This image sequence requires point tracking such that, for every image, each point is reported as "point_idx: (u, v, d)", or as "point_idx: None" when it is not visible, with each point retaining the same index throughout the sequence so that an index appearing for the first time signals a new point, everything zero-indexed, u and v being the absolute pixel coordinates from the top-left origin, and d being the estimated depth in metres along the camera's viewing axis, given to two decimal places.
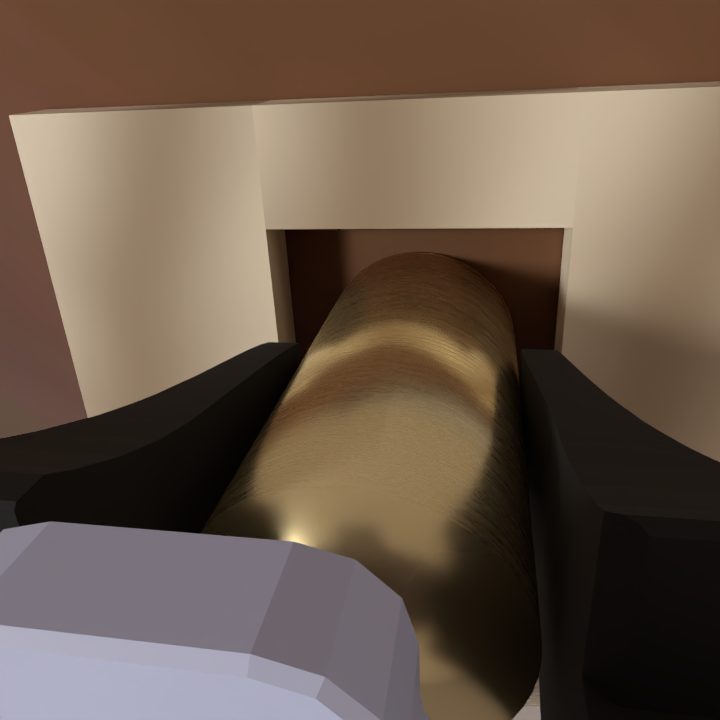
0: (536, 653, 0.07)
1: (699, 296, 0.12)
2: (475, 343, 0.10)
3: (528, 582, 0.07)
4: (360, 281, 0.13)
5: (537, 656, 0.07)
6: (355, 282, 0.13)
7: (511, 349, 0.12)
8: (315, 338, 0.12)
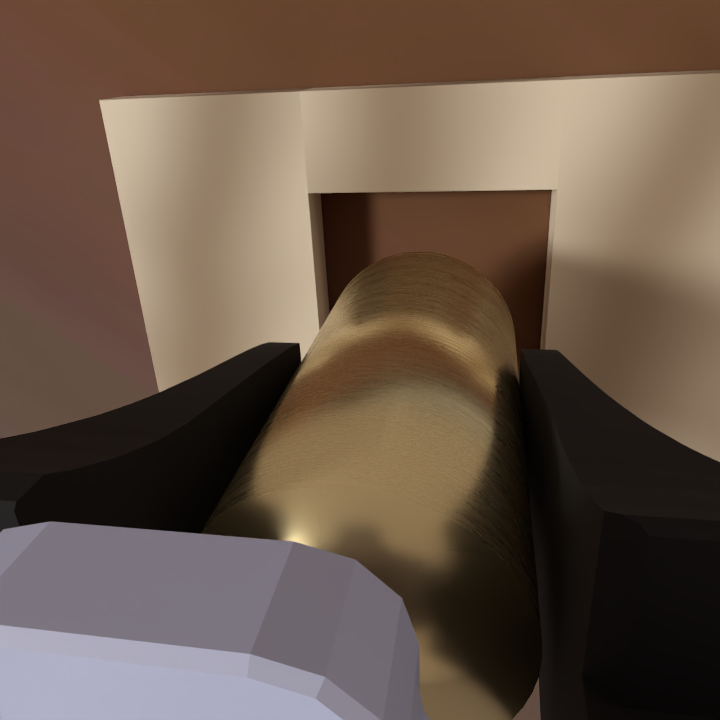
0: (536, 652, 0.07)
1: (659, 245, 0.14)
2: (476, 343, 0.10)
3: (528, 581, 0.07)
4: (360, 281, 0.13)
5: (537, 655, 0.07)
6: (355, 282, 0.13)
7: (511, 349, 0.12)
8: (315, 338, 0.12)
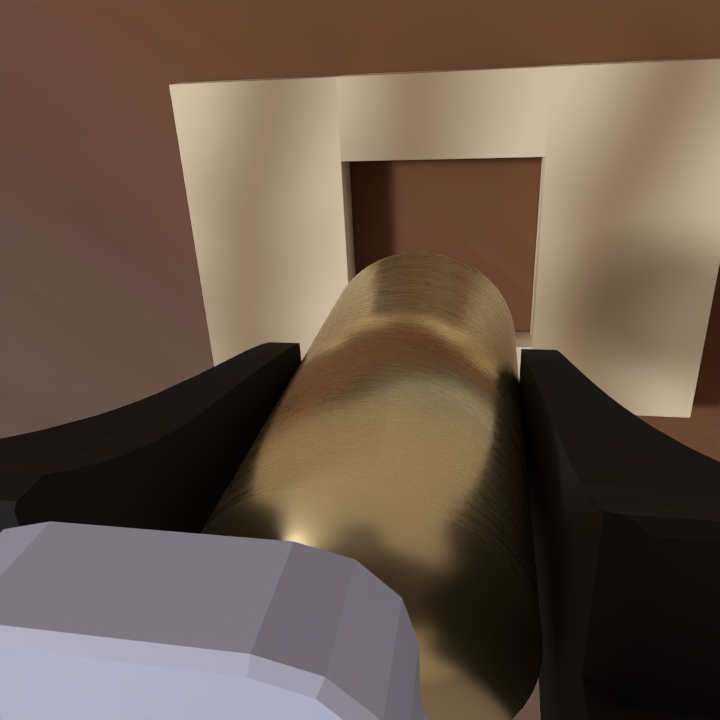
0: (536, 652, 0.07)
1: (628, 202, 0.18)
2: (476, 342, 0.10)
3: (528, 581, 0.07)
4: (360, 280, 0.13)
5: (537, 655, 0.07)
6: (355, 282, 0.13)
7: (511, 348, 0.12)
8: (315, 337, 0.12)
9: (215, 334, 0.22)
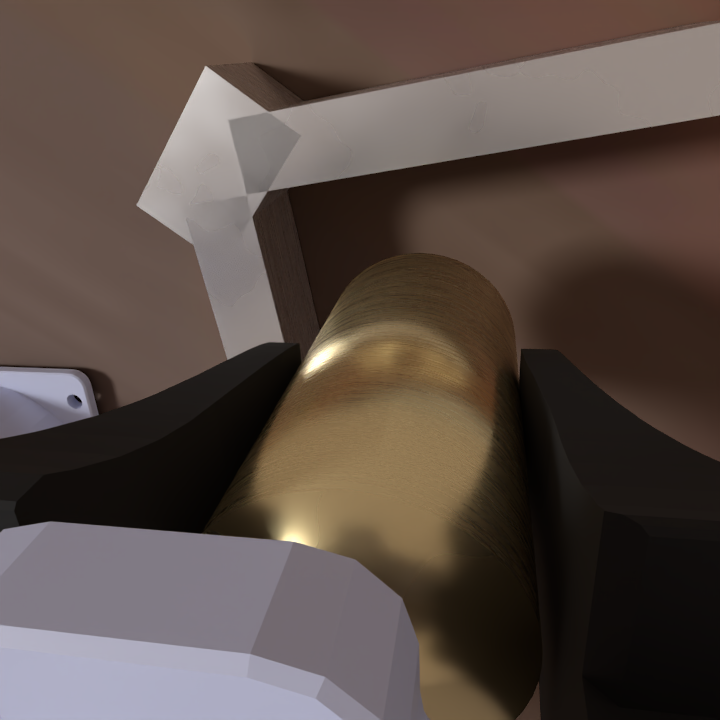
0: (536, 656, 0.07)
1: None
2: (476, 345, 0.10)
3: (528, 585, 0.07)
4: (360, 282, 0.13)
5: (537, 659, 0.07)
6: (355, 283, 0.13)
7: (511, 350, 0.12)
8: (315, 339, 0.12)
9: None
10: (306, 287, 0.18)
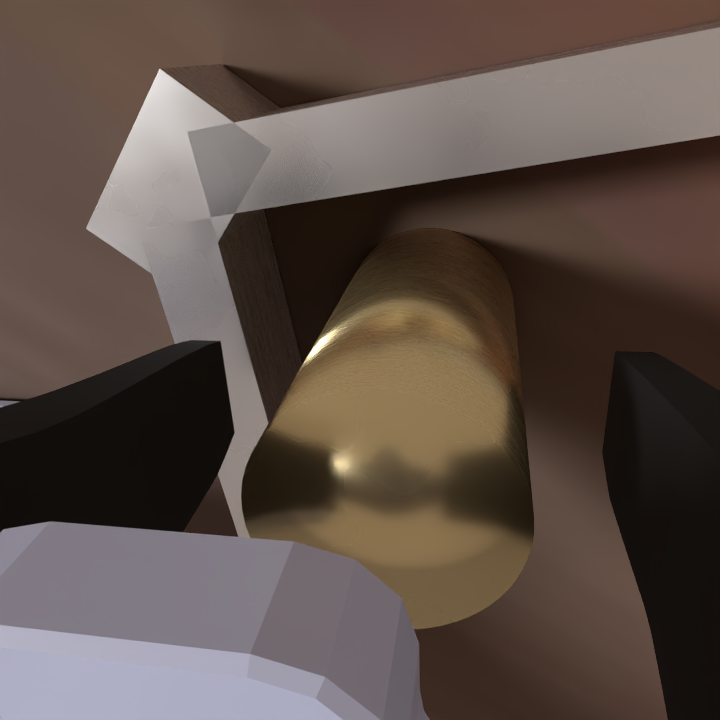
0: (529, 528, 0.09)
1: None
2: (479, 299, 0.12)
3: (523, 470, 0.08)
4: (378, 253, 0.15)
5: (530, 530, 0.09)
6: (373, 254, 0.15)
7: (510, 310, 0.14)
8: (340, 299, 0.13)
9: None
10: (285, 316, 0.16)
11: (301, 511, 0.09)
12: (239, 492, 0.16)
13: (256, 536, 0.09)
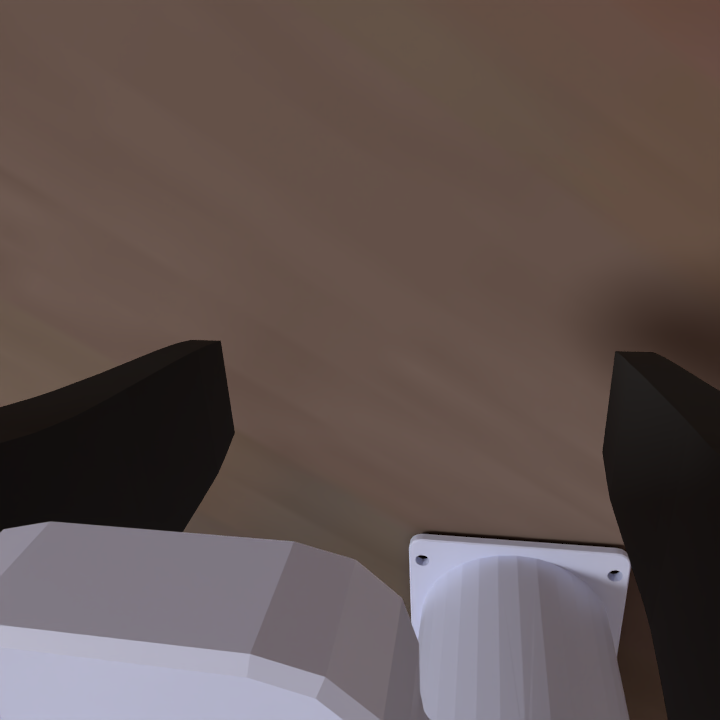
0: None
1: None
2: None
3: None
4: None
5: None
6: None
7: None
8: None
9: None
10: None
11: None
12: None
13: None
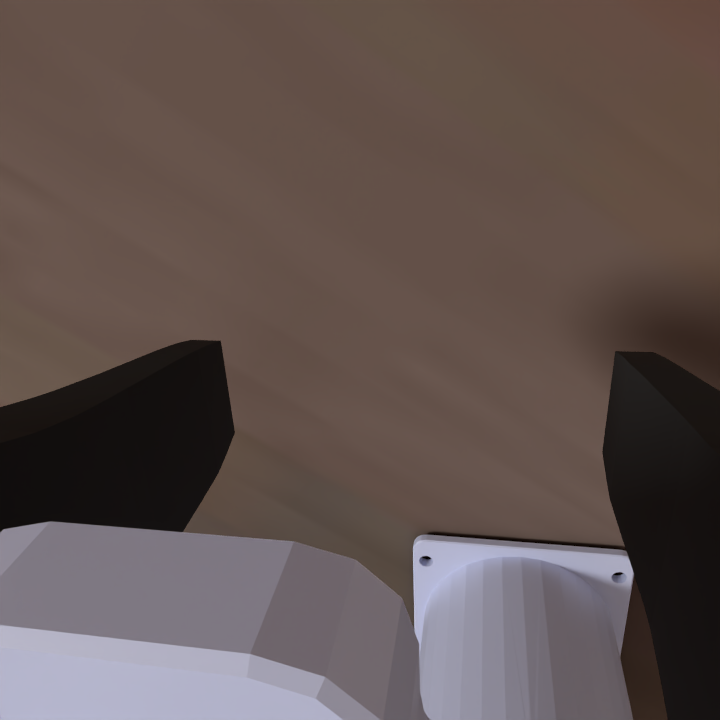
0: None
1: None
2: None
3: None
4: None
5: None
6: None
7: None
8: None
9: None
10: None
11: None
12: None
13: None
